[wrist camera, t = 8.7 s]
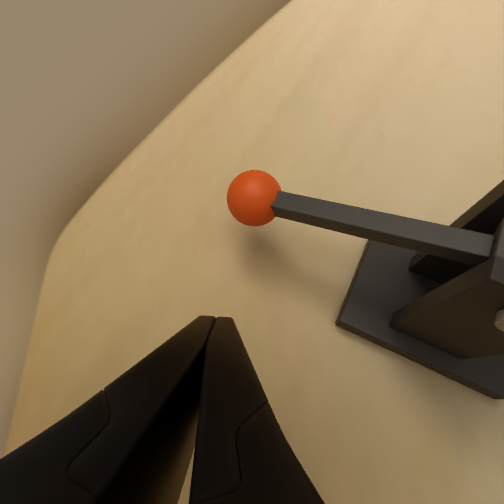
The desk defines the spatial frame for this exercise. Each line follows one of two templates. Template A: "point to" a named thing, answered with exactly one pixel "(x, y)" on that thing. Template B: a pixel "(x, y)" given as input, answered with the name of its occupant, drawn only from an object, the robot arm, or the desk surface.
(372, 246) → the switch bracket
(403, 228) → the switch
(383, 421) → the desk surface
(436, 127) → the desk surface
